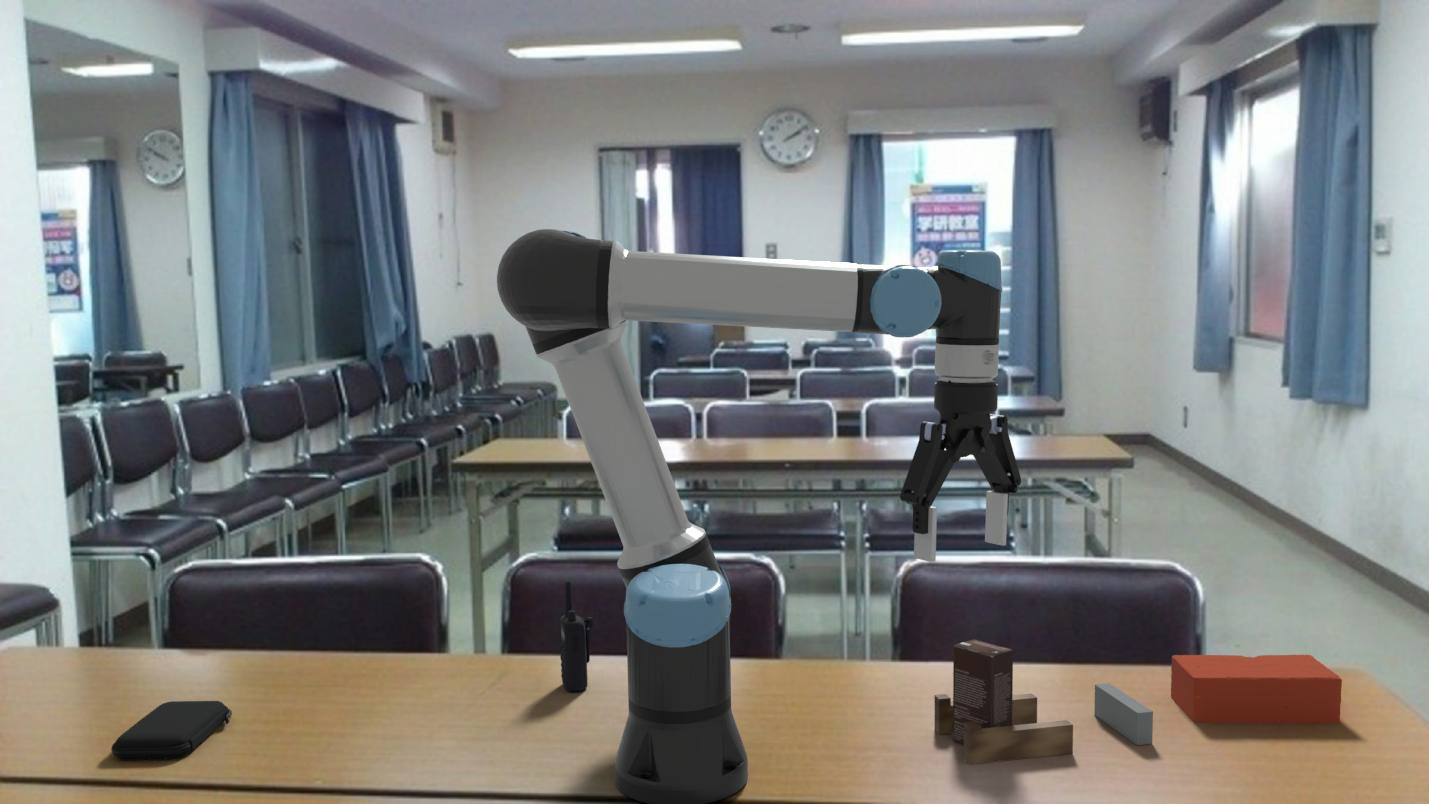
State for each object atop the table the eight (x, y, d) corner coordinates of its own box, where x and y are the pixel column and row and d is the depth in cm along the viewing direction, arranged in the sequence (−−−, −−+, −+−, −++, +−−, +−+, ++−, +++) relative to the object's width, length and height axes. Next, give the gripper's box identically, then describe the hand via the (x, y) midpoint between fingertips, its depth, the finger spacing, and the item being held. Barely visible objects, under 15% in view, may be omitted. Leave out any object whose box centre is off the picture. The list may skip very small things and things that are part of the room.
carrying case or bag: (193, 764, 142) (243, 718, 156) (192, 740, 141) (241, 696, 156) (105, 765, 142) (163, 719, 156) (103, 741, 141) (161, 697, 156)
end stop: (1137, 745, 141) (1137, 713, 140) (1094, 714, 150) (1094, 684, 150) (1152, 743, 141) (1152, 711, 141) (1108, 713, 151) (1109, 683, 150)
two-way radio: (559, 682, 167) (555, 578, 165) (590, 678, 168) (587, 575, 166) (566, 695, 161) (562, 588, 160) (598, 691, 163) (595, 585, 161)
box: (1014, 745, 141) (1015, 648, 140) (990, 756, 139) (991, 656, 137) (973, 731, 146) (974, 637, 145) (950, 741, 143) (950, 644, 142)
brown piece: (969, 764, 136) (969, 726, 136) (934, 729, 147) (934, 694, 146) (1072, 753, 139) (1073, 716, 138) (1031, 720, 149) (1031, 685, 149)
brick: (1193, 724, 148) (1194, 678, 147) (1170, 698, 156) (1170, 654, 156) (1341, 724, 146) (1343, 678, 146) (1309, 698, 155) (1310, 654, 155)
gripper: (922, 387, 131) (917, 573, 134) (1053, 375, 147) (1047, 542, 150) (872, 382, 137) (868, 560, 140) (1004, 371, 153) (998, 532, 155)
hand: (961, 551), depth 145 cm, fingers open, 13 cm apart
